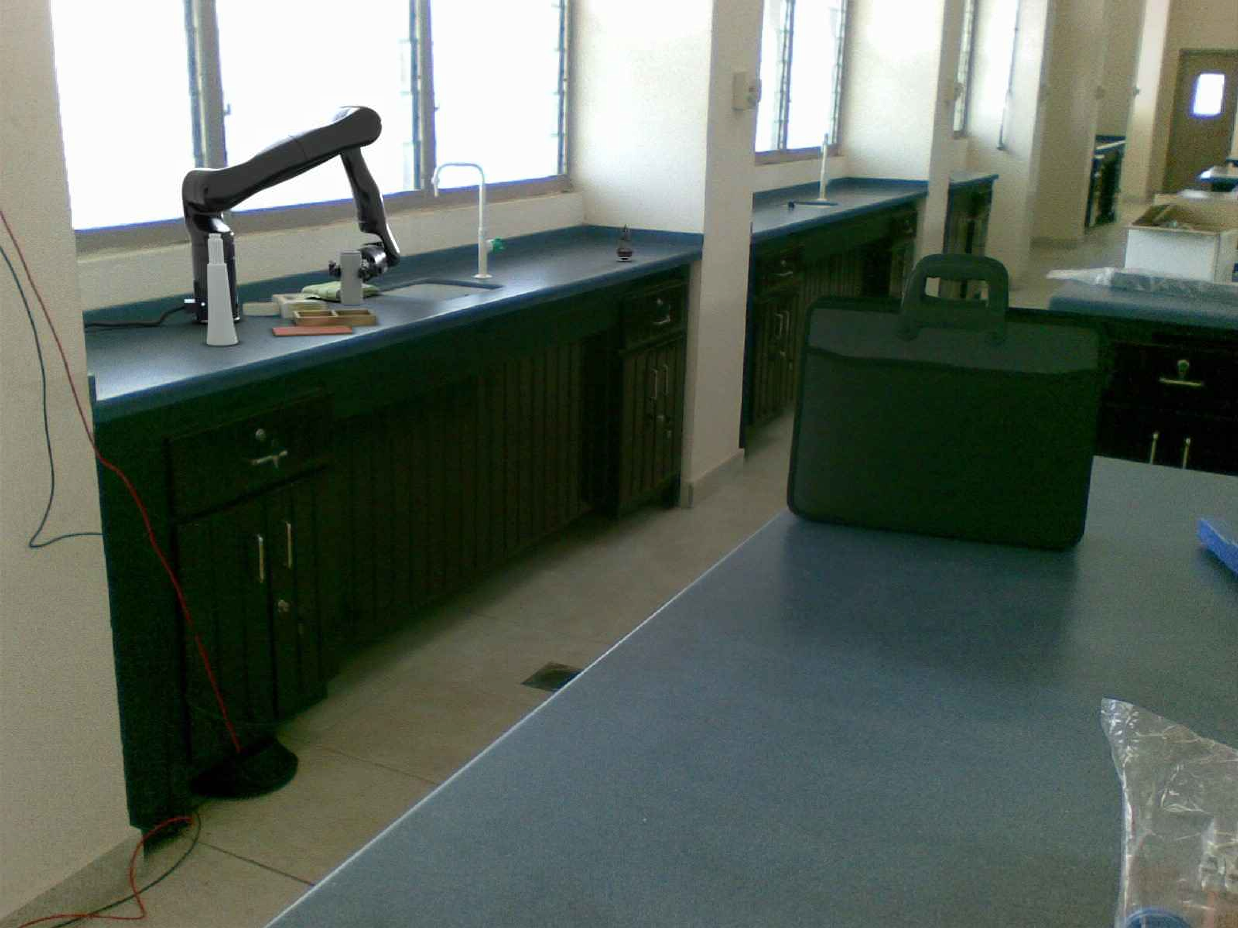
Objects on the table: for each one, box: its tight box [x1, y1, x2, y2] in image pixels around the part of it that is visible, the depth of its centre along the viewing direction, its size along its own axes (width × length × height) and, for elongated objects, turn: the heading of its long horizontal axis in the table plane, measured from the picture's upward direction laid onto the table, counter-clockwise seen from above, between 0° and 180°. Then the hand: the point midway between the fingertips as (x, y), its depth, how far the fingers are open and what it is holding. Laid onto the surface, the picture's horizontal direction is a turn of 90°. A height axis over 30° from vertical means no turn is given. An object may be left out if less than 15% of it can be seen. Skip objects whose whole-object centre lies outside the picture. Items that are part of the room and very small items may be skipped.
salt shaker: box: [615, 223, 635, 260], centre depth 395 cm, size 6×6×12 cm
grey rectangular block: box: [339, 249, 364, 307], centre depth 269 cm, size 5×5×12 cm
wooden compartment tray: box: [293, 308, 378, 327], centre depth 271 cm, size 17×9×2 cm, turn 110°
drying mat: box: [272, 325, 354, 338], centre depth 260 cm, size 16×9×1 cm, turn 110°
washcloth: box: [300, 280, 380, 302], centre depth 308 cm, size 13×18×3 cm
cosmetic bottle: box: [206, 234, 238, 347], centre depth 242 cm, size 6×6×22 cm
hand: (348, 273), depth 267 cm, fingers closed on grey rectangular block, 5 cm apart
